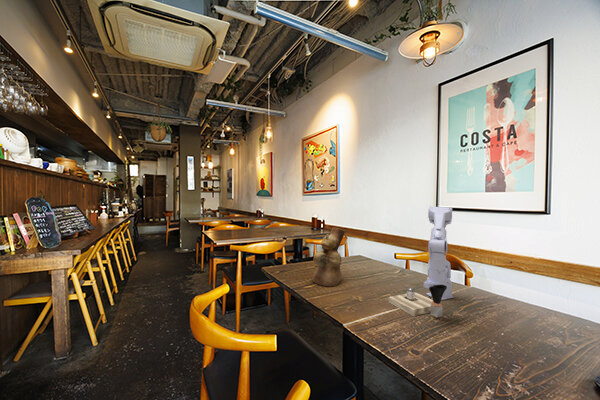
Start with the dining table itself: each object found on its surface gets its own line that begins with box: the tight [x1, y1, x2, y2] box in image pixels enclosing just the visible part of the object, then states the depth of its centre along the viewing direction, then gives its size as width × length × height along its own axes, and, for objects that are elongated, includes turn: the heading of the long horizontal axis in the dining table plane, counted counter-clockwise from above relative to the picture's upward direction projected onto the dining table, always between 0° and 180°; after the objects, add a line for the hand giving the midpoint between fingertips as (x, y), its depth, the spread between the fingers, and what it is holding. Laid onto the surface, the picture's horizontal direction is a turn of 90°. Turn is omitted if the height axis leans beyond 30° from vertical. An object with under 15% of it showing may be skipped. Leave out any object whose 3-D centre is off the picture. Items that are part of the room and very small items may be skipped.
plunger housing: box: [429, 304, 443, 318], centre depth 100 cm, size 3×3×4 cm
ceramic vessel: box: [311, 227, 345, 288], centre depth 142 cm, size 16×22×30 cm
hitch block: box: [388, 292, 433, 317], centre depth 111 cm, size 16×14×2 cm
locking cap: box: [432, 301, 443, 307], centre depth 100 cm, size 4×4×4 cm
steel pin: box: [406, 286, 416, 301], centre depth 113 cm, size 3×3×7 cm
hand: (436, 302), depth 100 cm, fingers closed, pressing on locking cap
